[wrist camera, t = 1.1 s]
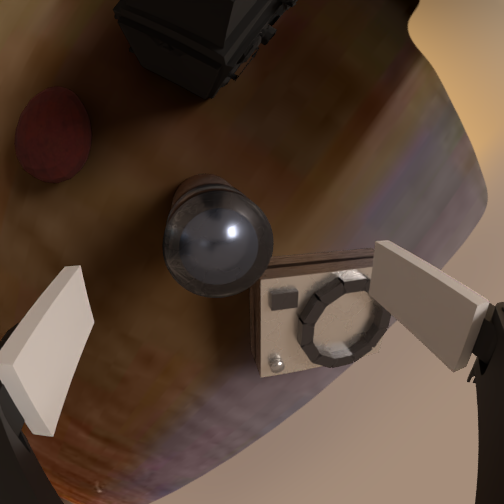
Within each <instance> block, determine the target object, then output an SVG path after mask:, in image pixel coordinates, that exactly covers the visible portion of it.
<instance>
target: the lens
mask: <svg viewBox="0 0 504 504" xmlns="http://www.w3.org/2000/svg"><path fill="white" fill-rule="evenodd" d="M272 252H273V234H272V229H271V226H270V223H269V221H268V219H267V217H266V216H265V214H264V213H263V212H262V210H261V209H260V208H259V207H258V206H257V205H256V204H255V203H253V202H252V201H251V200H250V199H248V198H247V197H246V196H245V195H244V194H243V193H241V192H240V191H239V190H237V189H235V188H234V187H232V186H231V185H230V184H229V183H228V182H227V181H225V180H224V179H222V178H221V177H219V176H216V175H213V174H198V175H194V176H192V177H190V178H188V179H186V180H185V181H184V182H183V183H182V184H181V185H180V186H179V187H178V189H177V190H176V192H175V194H174V197H173V201H172V206H171V210H170V212H169V215H168V219H167V223H166V228H165V232H164V237H163V255H164V260H165V263H166V266H167V268H168V270H169V272H170V273H171V275H172V276H173V278H174V279H175V280H176V281H177V282H178V283H179V284H180V285H181V286H182V287H184V288H185V289H187V290H188V291H190V292H192V293H194V294H197V295H200V296H204V297H211V298H222V297H228V296H232V295H235V294H238V293H240V292H242V291H244V290H246V289H248V288H249V287H250V286H252V285H253V284H254V283H255V282H256V281H257V280H258V279H259V278H260V277H261V276H262V275H263V273H264V272H265V270H266V269H267V267H268V265H269V262H270V259H271V257H272Z"/></svg>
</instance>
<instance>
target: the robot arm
mask: <svg viewBox="0 0 504 504" xmlns="http://www.w3.org/2000/svg"><path fill="white" fill-rule="evenodd" d="M369 295H370V296H371V297H373V298H374V299H375V300H376V301H377V302H378V303H379V304H380V305H381V306H383V307H384V308H385V309H386V310H387V311H388V312H389V313H390V314H391V315H393V316H394V317H395V318H396V319H397V320H398V321H399V322H400V323H401V324H403V325H404V326H405V327H406V328H407V329H408V330H409V331H410V332H411V333H412V334H414V336H416V337H417V338H418V339H419V340H420V341H421V342H422V343H423V344H424V345H425V346H426V347H427V348H428V349H429V350H430V351H431V352H433V353H434V354H435V355H436V356H437V357H438V358H439V359H440V360H441V361H442V362H443V363H444V364H445V365H446V366H447V367H448V368H449V369H450V370H451V371H453V372H455V371H458V370H460V369H462V368H464V367H466V366H467V364H468V361H469V359H470V356H471V354H472V353H473V354H474V355H476V356H477V358H476V361H475V363H474V365H473V368H472V370H471V372H470V374H469V377H468V379H467V382H470V380H471V378H472V377H473V376H475V379H474V381H473V383H476V391H477V405H478V430H479V454H478V455H479V456H478V478H477V490H476V500H475V504H504V302H500V303H497V304H496V306H494V305H492V304H490V303H489V302H490V301H489V300H488V299H486V298H485V297H483V296H482V295H480V294H478V293H477V292H475V291H474V290H472V289H470V288H469V287H467V286H465V285H464V284H462V283H461V282H459V281H458V280H456V279H454V278H453V277H451V276H449V275H448V274H446V273H444V272H443V271H441V270H439V269H438V268H436V267H434V266H433V265H431V264H429V263H428V262H426V261H424V260H422V259H421V258H419V257H417V256H415V255H414V254H412V253H410V252H408V251H407V250H405V249H403V248H401V247H399V246H398V245H396V244H394V243H392V242H390V241H389V240H386V241H375V250H374V258H373V266H372V274H371V281H370V288H369ZM93 324H94V319H93V316H92V312H91V308H90V304H89V300H88V296H87V292H86V288H85V283H84V279H83V274H82V270H81V265H78V266H66V267H64V268H63V269H62V271H61V272H60V273H59V274H58V275H57V277H56V278H55V279H54V280H53V281H52V282H51V284H50V285H49V286H48V287H47V289H46V290H45V291H44V292H43V293H42V295H41V296H40V297H39V298H38V300H37V301H36V302H35V304H34V305H33V306H32V307H31V309H30V310H29V311H28V313H27V314H26V315H25V317H24V318H23V319H22V321H21V322H20V323H17V324H16V325H15V326H13V327H12V328H11V329H10V330H8V331H7V333H6V334H5V335H4V337H3V338H2V341H0V504H64V503H63V502H62V501H61V499H60V497H59V496H58V494H57V493H56V491H55V489H54V488H53V486H52V485H51V483H50V481H49V480H48V478H47V476H46V474H45V473H44V471H43V469H42V467H41V466H40V464H39V462H38V460H37V458H36V456H35V454H34V453H33V451H32V449H31V447H30V445H29V443H28V441H27V438H26V437H25V435H24V434H23V432H22V431H21V429H22V426H23V424H24V421H25V423H26V424H27V426H28V427H29V429H30V430H31V432H32V433H33V434H37V435H44V436H52V437H53V435H54V432H55V429H56V425H57V422H58V419H59V416H60V413H61V409H62V406H63V403H64V400H65V397H66V395H67V392H68V389H69V386H70V383H71V380H72V378H73V375H74V372H75V369H76V367H77V364H78V361H79V359H80V356H81V354H82V351H83V349H84V346H85V344H86V341H87V339H88V336H89V334H90V332H91V329H92V327H93Z"/></svg>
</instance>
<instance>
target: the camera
mask: <svg viewBox="0 0 504 504" xmlns="http://www.w3.org/2000/svg"><path fill="white" fill-rule="evenodd" d="M296 1H298V0H120V1H119V2H118V4H117V5H116V6H115V7H114V9H113V11H114V13H115V17H114V18H115V19H118V24H119V26H120V27H121V29H122V31H123V33H124V35H125V37H126V38H127V40H128V42H129V44H130V46H131V47H130V49H129V51H130V52H132V53H134V54H135V55H136V57H137V58H138V60H139V62H140V64H141V66H142V67H144V68H146V69H148V70H150V71H152V72H154V73H156V74H158V75H160V76H162V77H164V78H166V79H168V80H170V81H172V82H174V83H176V84H177V85H179V86H181V87H183V88H185V89H187V90H189V91H190V92H192V93H194V94H196V95H198V96H199V97H201V98H203V99H207V98H208V97H209V98H211V99H212V98H214V96H215V95H216V93H217V92H218V90H219V89H220V88H221V87H223V86H225V85H227V83H228V82H229V80H230V79H231V78H232V79H233V80H235V81H236V80H237V79H236V78H238V77H239V76H237V75H235V74H234V73H235V72H236V70H237V69H238V67H239V66H240V64H241V63H244V62H246V61H247V60H248V58H249V57H250V56H251V54H252V53H253V52H254V51H255V49H257V51H258V49H259V48H258V45H259V44H260V42H261V43H262V44H264V45H266V44H267V43H268V42H269V40H270V39H271V38H272V37H273V36H274V35H275V33H276V29H274V28H273V27H271V26H272V25H273V24H274V23H275V22H276V21H277V20H278V19H279V18H280V16H281V15H282V14H283V13H284V12H285V10H286V9H287V10H288V9H289V8H290V7H293V6H294V5H296V3H295V2H296ZM277 15H278V16H277ZM268 24H269V25H268ZM270 25H271V26H270ZM257 51H256V52H255V53H254V54H253V55H252V57H253V58H254V57H255V55H256V53H257ZM251 60H252V59H251ZM251 60H250V61H251ZM250 61H249V62H250ZM248 64H249V63H248ZM248 64H247V65H248ZM247 65H246V66H247ZM245 68H246V67H245ZM245 68H244V69H245ZM244 69H243V70H244ZM242 72H243V71H242ZM242 72H241V73H242ZM241 73H240V74H241Z"/></svg>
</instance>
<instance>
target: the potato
mask: <svg viewBox="0 0 504 504" xmlns="http://www.w3.org/2000/svg"><path fill="white" fill-rule="evenodd" d="M91 140H92V132H91V123H90V120H89V117H88V113H87V111H86V109H85V107H84V105H83V104H82V102H81V101H80V99H79V98H78V96H77V95H76V94H75V93H74V92H73V91H71V90H70V89H67V88H64V87H58V86H55V87H50V88H47V89H45V90H44V91H42V92H40V93H38V94H37V95H36V96H35V97H33V98H32V99H31V100H30V101H29V103H28V104H27V106H26V107H25V109H24V110H23V112H22V113H21V116H20V119H19V122H18V125H17V128H16V133H15V143H14V144H15V150H16V155H17V158H18V160H19V162H20V164H21V165H22V167H23V169H24V170H25V171H26V172H28V173H29V174H31V175H32V176H34V177H35V178H37V179H39V180H41V181H44V182H49V183H59V182H62V181H65V180H68V179H71V178H72V177H73V176H74V175H75V174H76V173H78V172H79V171H80V170H81V169H82V167H83V166H84V164H85V162H86V161H87V159H88V155H89V152H90V148H91Z"/></svg>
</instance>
